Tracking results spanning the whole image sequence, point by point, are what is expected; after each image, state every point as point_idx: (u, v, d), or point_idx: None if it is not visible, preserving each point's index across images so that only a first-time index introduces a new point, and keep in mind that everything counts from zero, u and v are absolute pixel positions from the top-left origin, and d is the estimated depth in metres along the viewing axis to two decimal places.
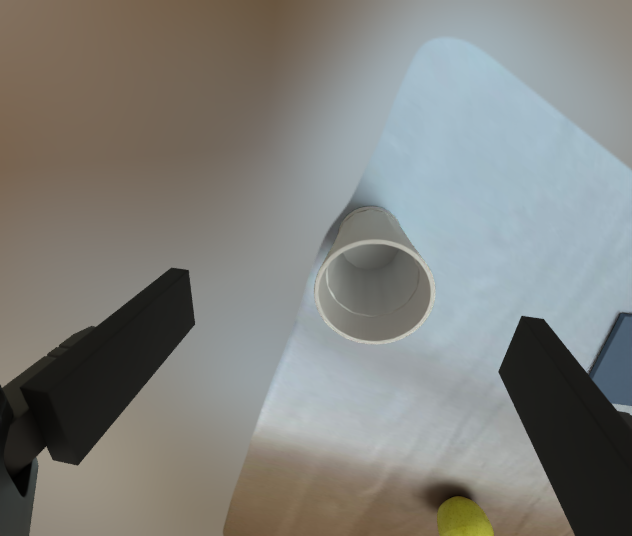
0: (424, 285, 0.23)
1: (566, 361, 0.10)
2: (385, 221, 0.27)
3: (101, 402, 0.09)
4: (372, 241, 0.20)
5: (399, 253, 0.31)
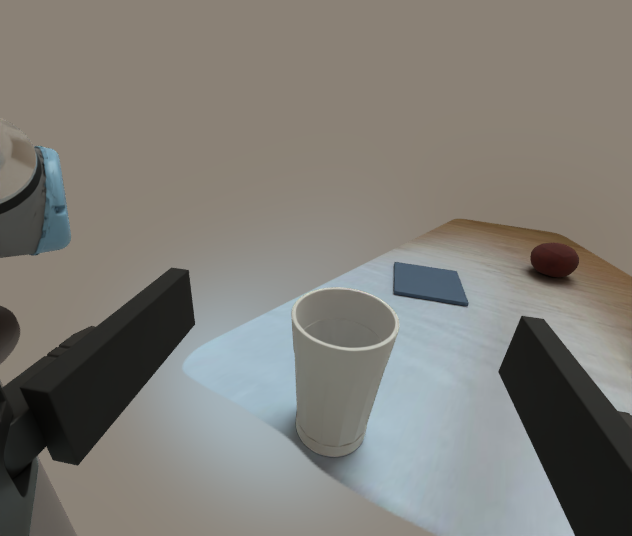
0: (343, 304, 0.28)
1: (566, 361, 0.10)
2: None
3: (101, 402, 0.09)
4: (294, 308, 0.25)
5: None
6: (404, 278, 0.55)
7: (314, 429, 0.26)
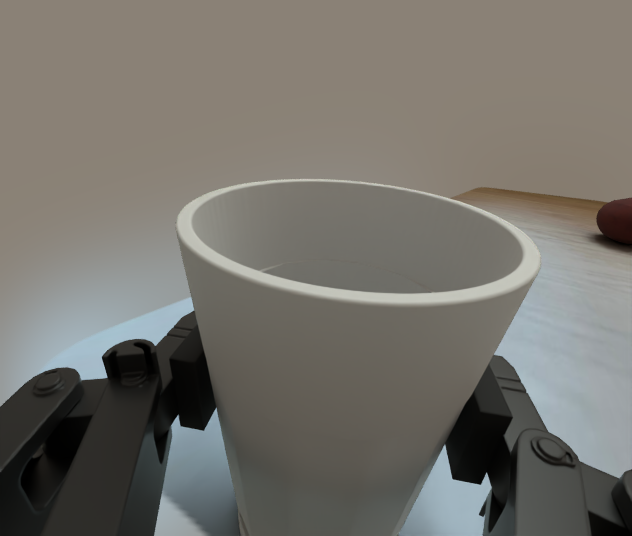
0: (346, 224, 0.12)
1: None
2: None
3: None
4: (197, 200, 0.08)
5: None
6: None
7: None
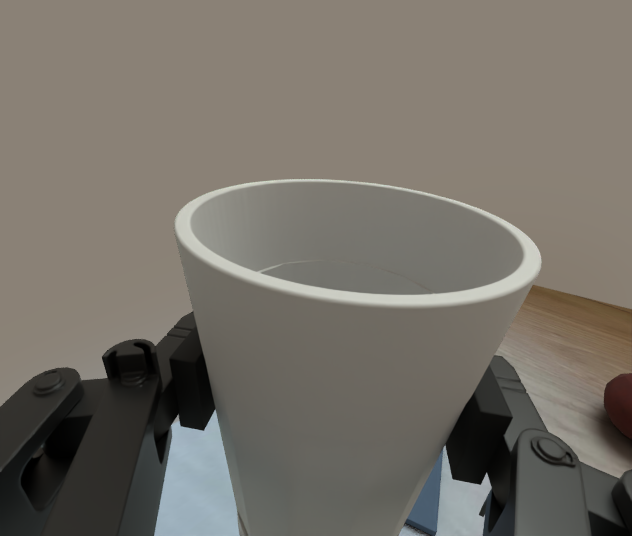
0: (346, 224, 0.12)
1: None
2: None
3: None
4: (196, 200, 0.08)
5: None
6: None
7: None
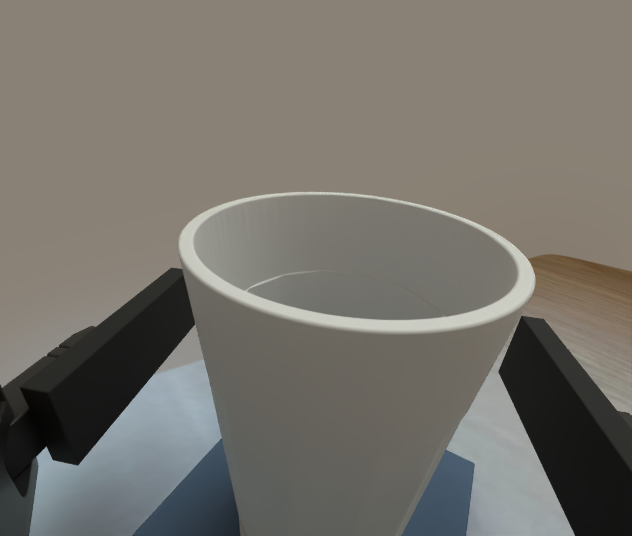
0: (345, 235, 0.12)
1: (566, 361, 0.10)
2: None
3: (101, 402, 0.09)
4: (199, 217, 0.08)
5: None
6: None
7: None
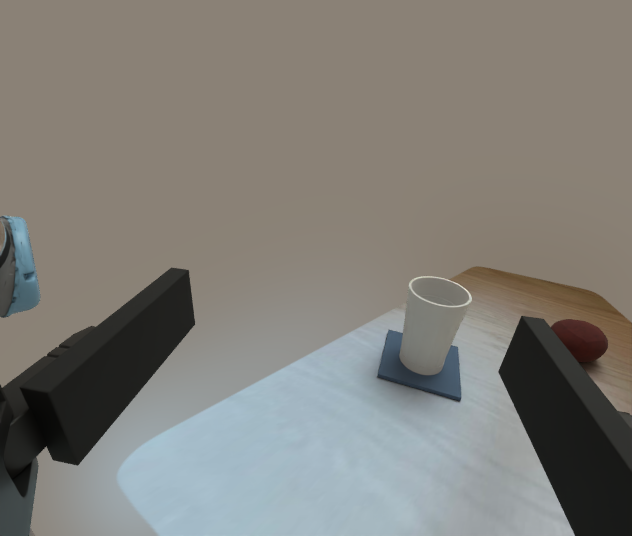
0: (426, 286, 0.48)
1: (566, 361, 0.10)
2: (404, 325, 0.47)
3: (101, 402, 0.09)
4: (411, 290, 0.43)
5: None
6: (394, 355, 0.50)
7: (422, 359, 0.45)
